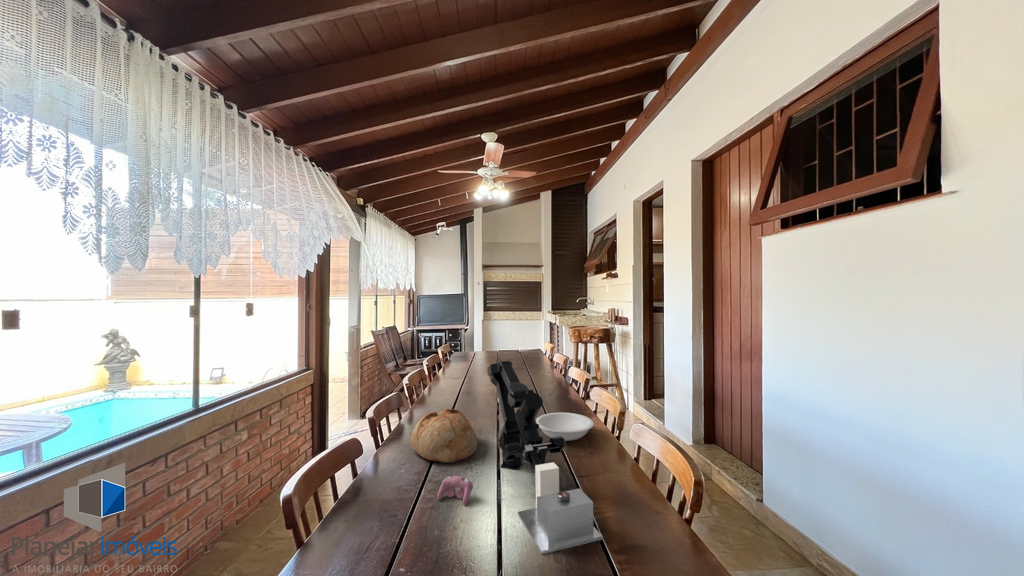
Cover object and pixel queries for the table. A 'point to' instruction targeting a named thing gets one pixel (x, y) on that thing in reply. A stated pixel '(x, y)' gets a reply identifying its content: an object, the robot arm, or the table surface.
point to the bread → (444, 437)
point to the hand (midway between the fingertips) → (542, 478)
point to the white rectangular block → (546, 479)
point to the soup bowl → (565, 425)
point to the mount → (561, 521)
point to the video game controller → (449, 486)
